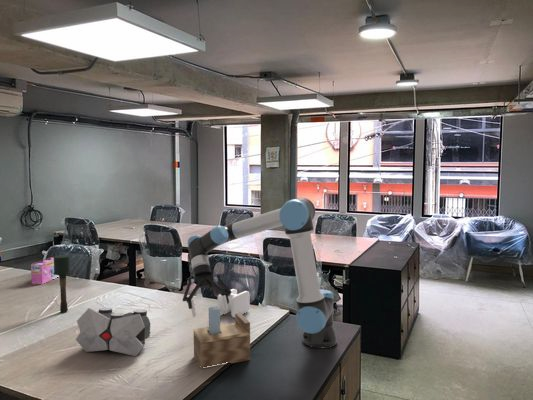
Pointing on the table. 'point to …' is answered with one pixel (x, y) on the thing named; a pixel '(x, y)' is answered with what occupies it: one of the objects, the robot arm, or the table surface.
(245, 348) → the open wooden box
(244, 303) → the cable organizer
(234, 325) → the tan holed block
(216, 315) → the blue-gray rectangular block
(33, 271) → the gum box
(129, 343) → the electronic device
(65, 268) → the stick grenade
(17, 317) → the table surface
